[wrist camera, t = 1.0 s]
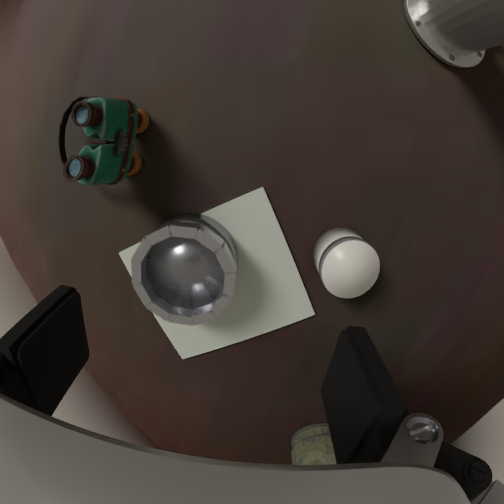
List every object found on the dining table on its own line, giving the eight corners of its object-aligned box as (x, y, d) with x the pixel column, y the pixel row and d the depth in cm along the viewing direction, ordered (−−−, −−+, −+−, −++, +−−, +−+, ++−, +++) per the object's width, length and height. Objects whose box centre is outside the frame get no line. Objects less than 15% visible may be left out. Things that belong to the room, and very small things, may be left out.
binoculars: (25, 90, 18) (108, 86, 18) (88, 100, 28) (162, 104, 28) (14, 186, 21) (90, 202, 21) (76, 173, 31) (147, 186, 31)
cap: (355, 218, 32) (371, 230, 27) (370, 266, 34) (385, 284, 29) (304, 239, 33) (312, 255, 28) (322, 286, 35) (331, 307, 30)
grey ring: (214, 197, 31) (205, 208, 26) (252, 280, 34) (252, 305, 29) (134, 235, 32) (114, 252, 27) (175, 309, 35) (163, 336, 30)
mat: (263, 186, 31) (263, 187, 31) (314, 313, 36) (315, 314, 35) (119, 252, 34) (118, 253, 33) (183, 357, 38) (182, 359, 38)
